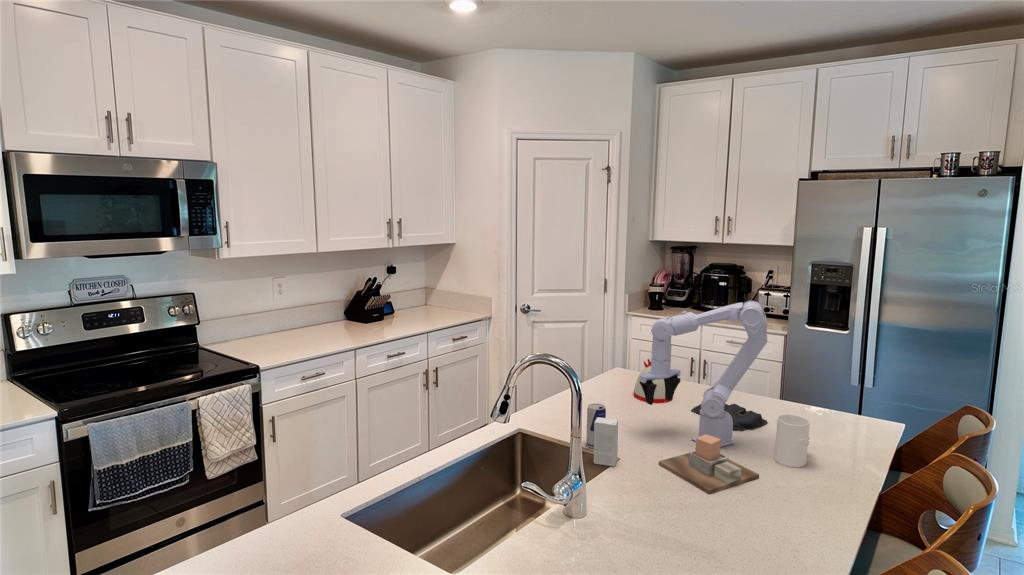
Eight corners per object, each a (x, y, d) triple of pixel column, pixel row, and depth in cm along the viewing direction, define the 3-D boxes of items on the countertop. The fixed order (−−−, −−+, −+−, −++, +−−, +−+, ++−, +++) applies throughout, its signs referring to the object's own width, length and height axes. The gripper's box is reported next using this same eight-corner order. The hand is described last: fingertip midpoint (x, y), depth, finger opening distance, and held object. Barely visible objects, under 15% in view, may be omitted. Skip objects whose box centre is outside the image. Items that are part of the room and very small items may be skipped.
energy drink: (604, 450, 168) (605, 410, 166) (585, 448, 169) (586, 409, 167) (605, 442, 173) (606, 404, 171) (587, 441, 174) (588, 402, 172)
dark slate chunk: (718, 404, 207) (719, 391, 206) (772, 426, 188) (773, 412, 187) (686, 411, 200) (687, 398, 199) (738, 435, 181) (739, 420, 180)
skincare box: (617, 460, 162) (618, 419, 160) (615, 467, 158) (616, 425, 156) (595, 457, 164) (596, 416, 162) (592, 463, 160) (593, 422, 158)
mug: (819, 459, 163) (823, 418, 161) (797, 470, 156) (801, 428, 154) (791, 448, 170) (794, 409, 168) (768, 459, 163) (771, 418, 161)
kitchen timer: (665, 406, 204) (667, 364, 202) (627, 398, 211) (629, 358, 209) (677, 395, 215) (679, 355, 213) (641, 388, 223) (643, 350, 221)
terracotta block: (704, 451, 158) (705, 434, 157) (719, 457, 155) (721, 439, 154) (695, 456, 155) (696, 438, 155) (710, 462, 152) (711, 443, 151)
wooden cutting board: (706, 451, 168) (707, 436, 167) (759, 478, 152) (760, 461, 151) (658, 464, 159) (659, 448, 158) (708, 494, 144) (710, 476, 143)
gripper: (669, 352, 183) (667, 394, 185) (633, 358, 176) (631, 401, 178) (686, 358, 177) (684, 401, 179) (649, 364, 170) (647, 408, 172)
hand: (659, 401), depth 178 cm, fingers open, 7 cm apart
